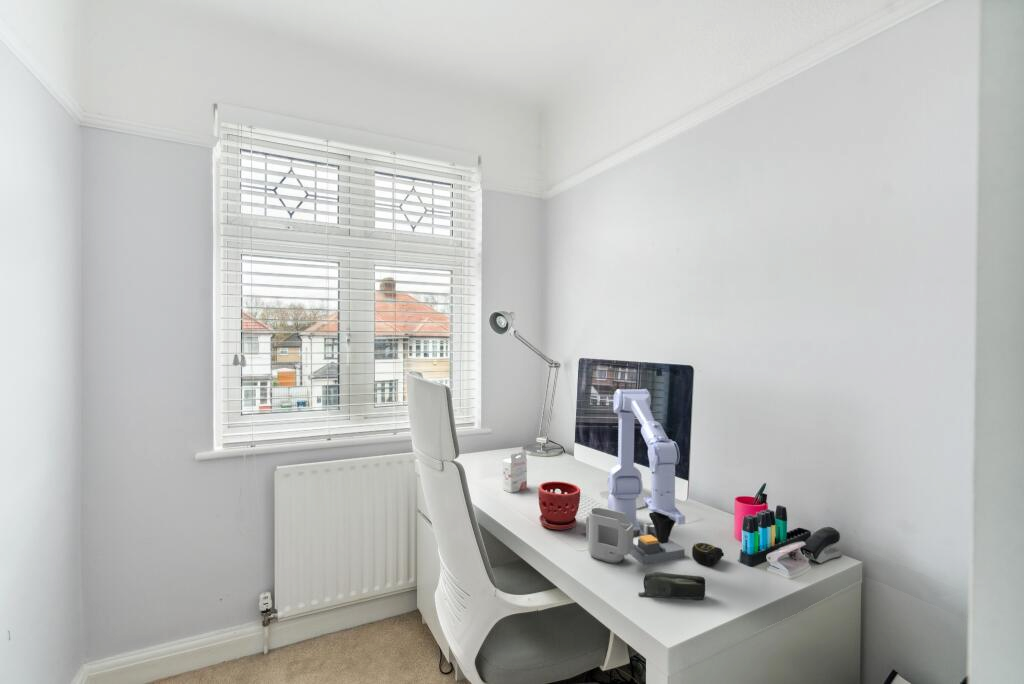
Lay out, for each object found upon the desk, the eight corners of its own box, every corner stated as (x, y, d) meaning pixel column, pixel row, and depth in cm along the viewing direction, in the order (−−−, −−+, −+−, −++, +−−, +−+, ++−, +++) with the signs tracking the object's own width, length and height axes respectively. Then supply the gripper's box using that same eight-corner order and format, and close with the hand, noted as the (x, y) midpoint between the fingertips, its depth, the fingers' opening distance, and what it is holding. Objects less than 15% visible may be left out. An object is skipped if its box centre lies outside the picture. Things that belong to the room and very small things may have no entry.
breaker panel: (608, 537, 138) (608, 520, 138) (647, 531, 142) (647, 514, 142) (642, 564, 122) (642, 544, 122) (684, 556, 126) (684, 537, 126)
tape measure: (713, 570, 119) (713, 556, 119) (687, 561, 124) (687, 547, 124) (723, 561, 124) (724, 547, 123) (698, 553, 128) (698, 539, 128)
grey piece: (626, 569, 119) (626, 522, 119) (582, 556, 126) (582, 511, 126) (635, 558, 125) (635, 514, 124) (592, 547, 131) (592, 504, 131)
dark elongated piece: (703, 573, 108) (637, 569, 109) (707, 580, 105) (640, 576, 106) (702, 595, 108) (636, 591, 109) (706, 602, 105) (639, 598, 106)
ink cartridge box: (518, 485, 186) (518, 448, 186) (527, 488, 183) (527, 450, 183) (502, 490, 181) (502, 452, 180) (510, 493, 177) (511, 454, 177)
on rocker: (640, 530, 138) (639, 523, 138) (650, 528, 139) (649, 522, 139) (656, 533, 130) (655, 526, 131) (666, 531, 132) (665, 525, 132)
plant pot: (548, 535, 139) (548, 495, 139) (532, 519, 151) (532, 482, 151) (587, 530, 143) (587, 491, 143) (569, 514, 156) (569, 478, 155)
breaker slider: (638, 547, 126) (638, 536, 126) (650, 545, 128) (650, 534, 128) (646, 554, 123) (646, 542, 123) (659, 552, 124) (659, 540, 124)
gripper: (633, 482, 125) (633, 533, 125) (668, 500, 111) (667, 556, 111) (655, 479, 127) (655, 529, 127) (692, 496, 113) (692, 552, 113)
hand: (662, 542), depth 119 cm, fingers closed
